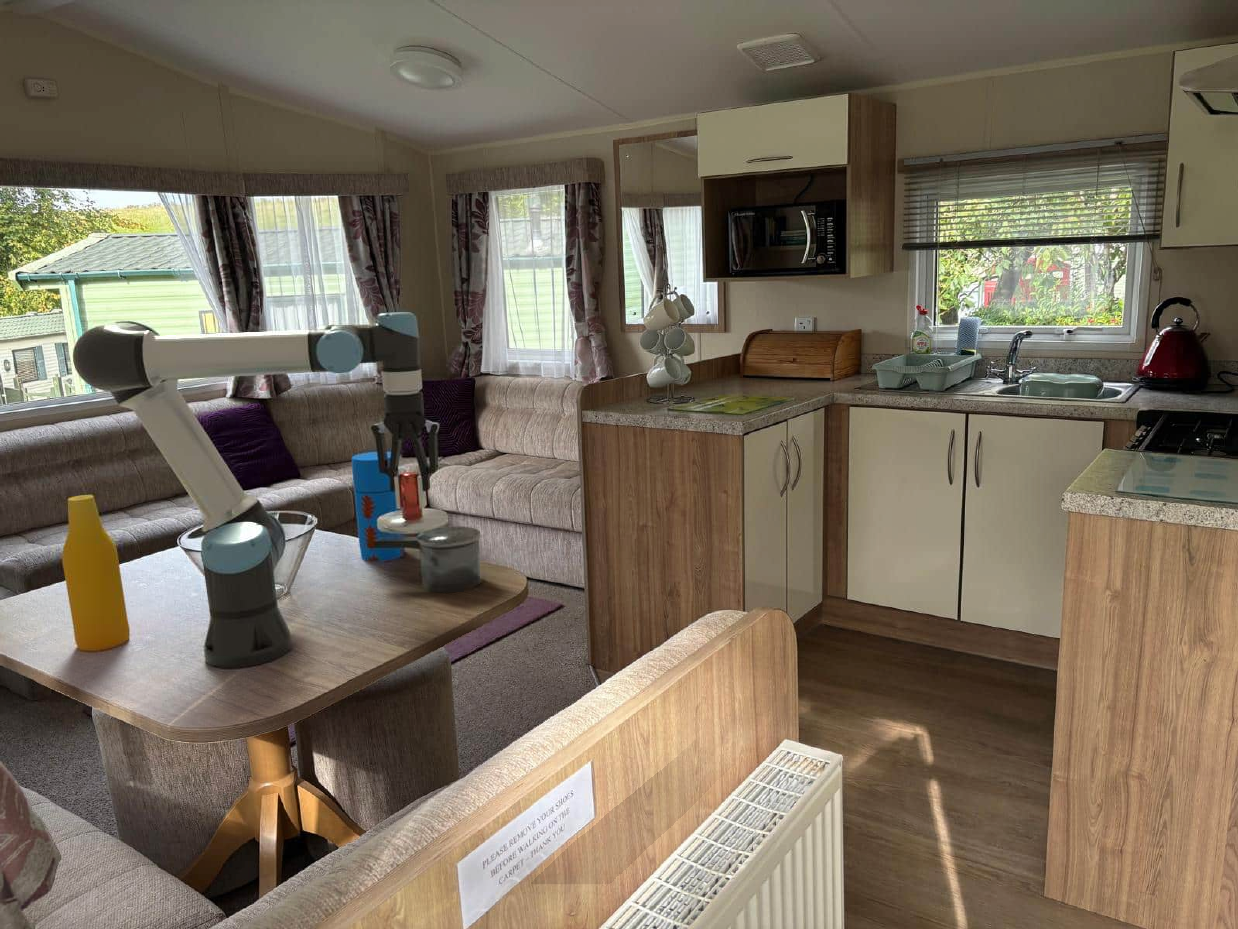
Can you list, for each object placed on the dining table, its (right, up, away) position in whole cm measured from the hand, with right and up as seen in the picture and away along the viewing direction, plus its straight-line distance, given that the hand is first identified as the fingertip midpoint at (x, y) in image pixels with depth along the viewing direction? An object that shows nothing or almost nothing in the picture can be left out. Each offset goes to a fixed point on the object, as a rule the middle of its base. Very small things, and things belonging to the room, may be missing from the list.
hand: (411, 506), depth 187 cm
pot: (0, -18, +20) cm, 27 cm away
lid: (0, -4, +1) cm, 4 cm away
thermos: (-16, -14, +42) cm, 47 cm away
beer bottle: (-58, -26, -8) cm, 64 cm away
